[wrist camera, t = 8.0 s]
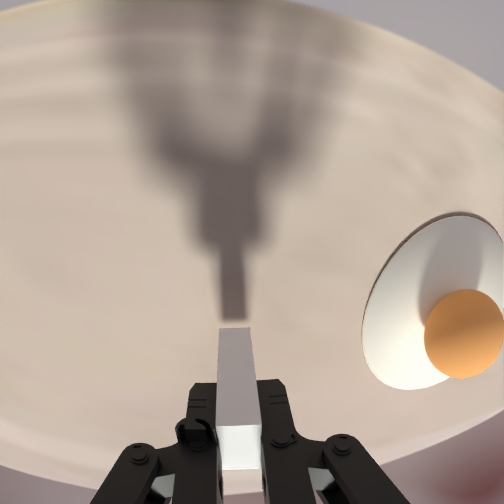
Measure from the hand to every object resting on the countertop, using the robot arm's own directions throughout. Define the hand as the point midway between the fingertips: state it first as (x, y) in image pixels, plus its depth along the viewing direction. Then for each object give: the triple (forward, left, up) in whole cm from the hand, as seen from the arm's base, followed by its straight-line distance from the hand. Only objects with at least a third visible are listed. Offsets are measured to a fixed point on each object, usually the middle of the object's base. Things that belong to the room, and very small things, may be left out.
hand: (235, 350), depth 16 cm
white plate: (0, +14, -2) cm, 14 cm away
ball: (0, +14, +1) cm, 14 cm away
